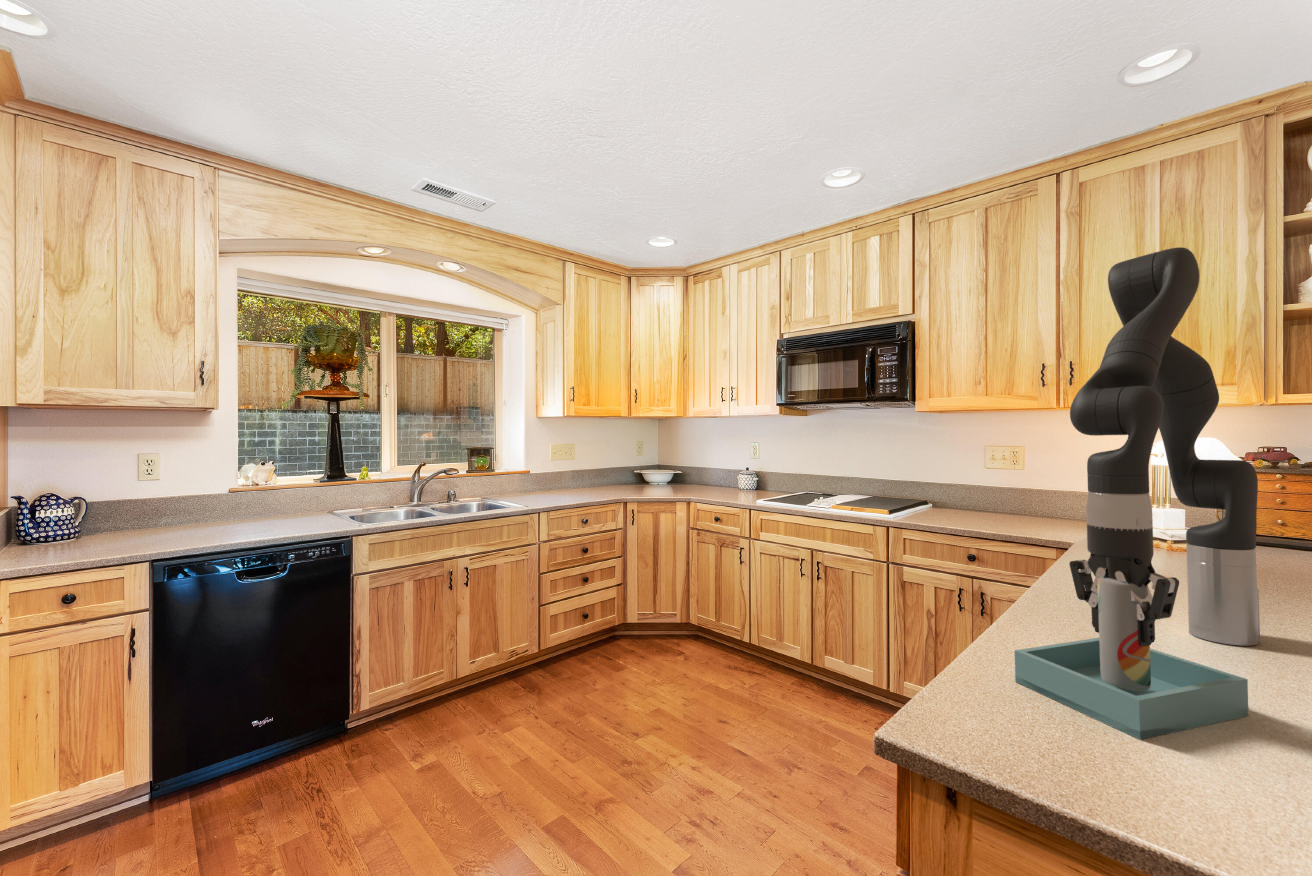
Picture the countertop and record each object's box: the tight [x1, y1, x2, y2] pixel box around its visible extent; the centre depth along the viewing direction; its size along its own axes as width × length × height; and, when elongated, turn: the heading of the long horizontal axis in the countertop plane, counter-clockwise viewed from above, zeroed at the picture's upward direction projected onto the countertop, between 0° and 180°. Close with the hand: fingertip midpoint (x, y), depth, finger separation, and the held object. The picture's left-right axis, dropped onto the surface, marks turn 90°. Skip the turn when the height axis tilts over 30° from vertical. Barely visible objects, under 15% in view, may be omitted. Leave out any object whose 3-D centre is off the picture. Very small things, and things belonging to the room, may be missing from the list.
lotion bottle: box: [1098, 557, 1151, 691], centre depth 83 cm, size 6×6×20 cm
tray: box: [1014, 637, 1249, 741], centre depth 83 cm, size 20×18×5 cm
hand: (1122, 637), depth 83 cm, fingers closed on lotion bottle, 5 cm apart
